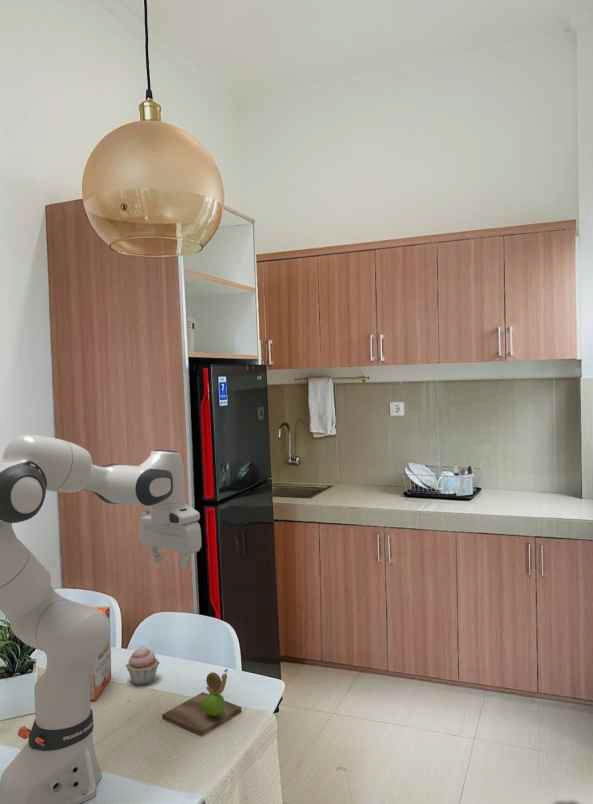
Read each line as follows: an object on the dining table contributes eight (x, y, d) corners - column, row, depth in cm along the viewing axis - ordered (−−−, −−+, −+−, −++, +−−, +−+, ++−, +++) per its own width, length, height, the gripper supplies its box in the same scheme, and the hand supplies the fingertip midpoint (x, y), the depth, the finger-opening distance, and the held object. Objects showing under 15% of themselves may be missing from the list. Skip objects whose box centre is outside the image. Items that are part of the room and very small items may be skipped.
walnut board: (201, 736, 156) (201, 731, 156) (162, 718, 165) (162, 714, 165) (241, 711, 167) (241, 707, 167) (202, 696, 176) (202, 692, 176)
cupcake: (150, 669, 193) (149, 636, 192) (165, 680, 186) (164, 646, 185) (120, 679, 187) (119, 645, 187) (134, 691, 180) (133, 655, 179)
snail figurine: (219, 723, 159) (220, 673, 159) (198, 716, 162) (199, 667, 162) (232, 714, 164) (233, 666, 164) (211, 708, 167) (212, 660, 167)
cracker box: (97, 701, 175) (94, 623, 174) (75, 701, 175) (71, 624, 174) (113, 677, 189) (110, 605, 188) (92, 677, 189) (89, 605, 188)
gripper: (132, 510, 173) (134, 562, 173) (185, 518, 160) (187, 574, 161) (151, 505, 178) (153, 556, 178) (204, 513, 165) (206, 568, 166)
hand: (170, 565), depth 169 cm, fingers open, 8 cm apart
